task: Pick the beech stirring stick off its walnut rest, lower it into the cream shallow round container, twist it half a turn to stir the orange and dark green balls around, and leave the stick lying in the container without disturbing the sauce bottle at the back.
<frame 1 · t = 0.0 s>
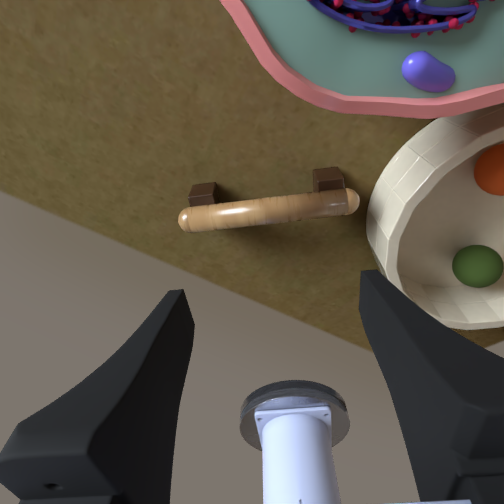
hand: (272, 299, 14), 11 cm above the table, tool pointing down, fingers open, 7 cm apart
green ball: (476, 266, 23), point 2 cm above the table, touching cream shallow round container
cream shallow round container: (471, 207, 23), on the table
stick rest: (265, 192, 23), on the table
stick: (266, 205, 21), point 2 cm above the table, touching stick rest
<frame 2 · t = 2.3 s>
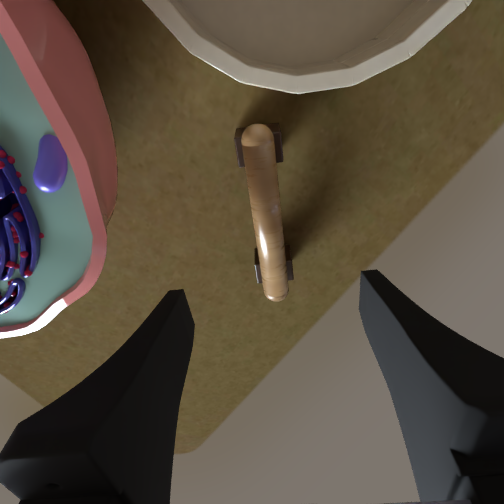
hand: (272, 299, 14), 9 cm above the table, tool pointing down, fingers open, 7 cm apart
stick rest: (266, 203, 21), on the table
stick: (267, 218, 20), point 2 cm above the table, touching stick rest
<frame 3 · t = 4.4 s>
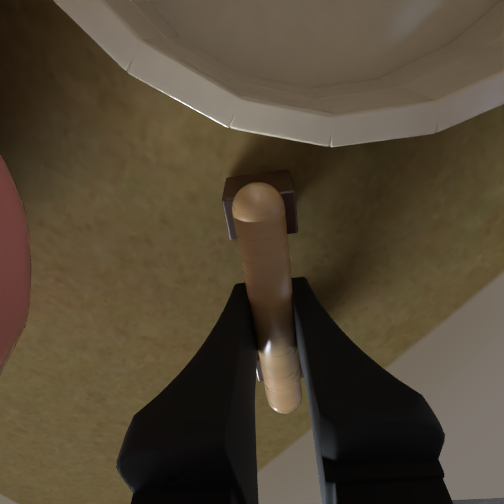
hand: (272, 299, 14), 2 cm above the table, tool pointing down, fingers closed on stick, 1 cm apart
stick rest: (271, 275, 15), on the table
stick: (272, 305, 13), point 2 cm above the table, touching gripper, stick rest
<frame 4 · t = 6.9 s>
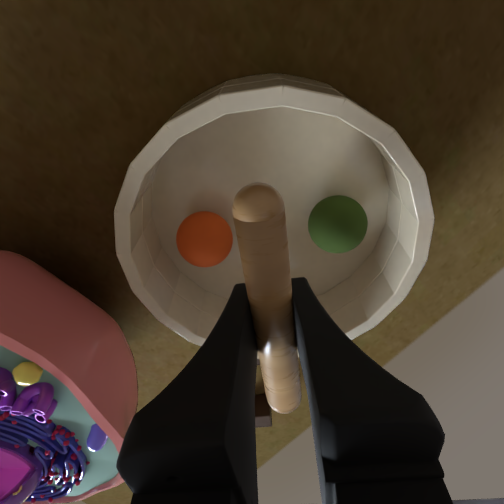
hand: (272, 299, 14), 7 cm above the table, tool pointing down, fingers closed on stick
green ball: (337, 224, 17), point 2 cm above the table, touching cream shallow round container
cream shallow round container: (268, 213, 19), on the table
cell model: (43, 313, 24), on the table
orange ball: (204, 239, 18), point 2 cm above the table, touching cream shallow round container
stick rest: (250, 371, 27), on the table
stick: (272, 305, 13), point 7 cm above the table, touching gripper
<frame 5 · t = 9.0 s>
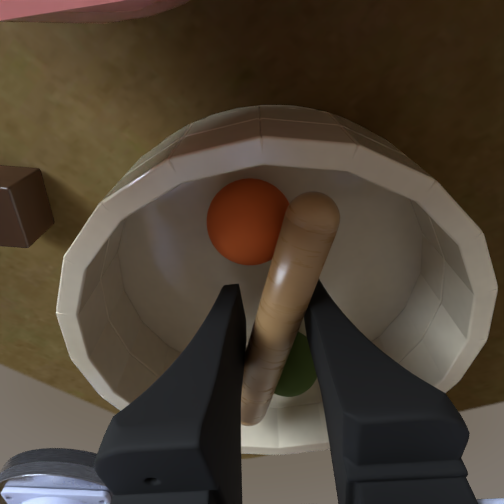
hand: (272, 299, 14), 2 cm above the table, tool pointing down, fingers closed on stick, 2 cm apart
green ball: (287, 362, 16), point 2 cm above the table, tilted 45°, touching cream shallow round container, stick
cream shallow round container: (268, 272, 15), on the table
orange ball: (249, 222, 12), point 2 cm above the table, tilted 44°, touching cream shallow round container, stick
stick: (273, 316, 13), point 3 cm above the table, touching green ball, gripper, orange ball
when the fingers open (2 cm above the table, at t = 9.8 s): stick drops 2 cm and tips over, resting on cream shallow round container.
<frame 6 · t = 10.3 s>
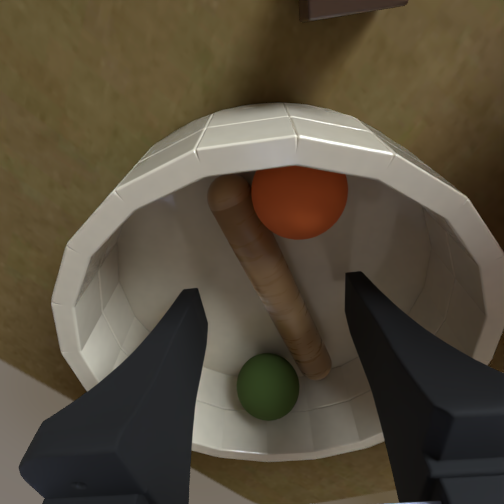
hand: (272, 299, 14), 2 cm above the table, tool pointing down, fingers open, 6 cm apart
green ball: (267, 385, 16), point 2 cm above the table, tilted 119°, touching cream shallow round container
cream shallow round container: (271, 275, 15), on the table
orange ball: (298, 192, 11), point 2 cm above the table, tilted 145°, touching cream shallow round container
stick: (262, 295, 14), point 1 cm above the table, tilted 70°, touching cream shallow round container
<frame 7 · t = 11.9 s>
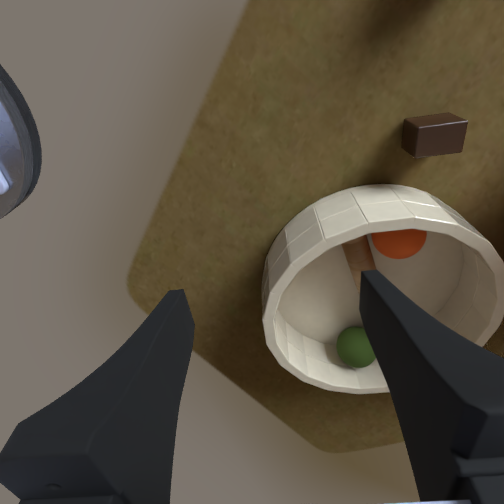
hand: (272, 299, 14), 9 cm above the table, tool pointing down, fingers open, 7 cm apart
green ball: (356, 346, 25), point 2 cm above the table, tilted 119°, touching cream shallow round container
cream shallow round container: (362, 277, 24), on the table
orange ball: (398, 233, 20), point 2 cm above the table, tilted 148°, touching cream shallow round container
stick rest: (435, 46, 16), on the table
stick: (358, 289, 24), point 1 cm above the table, tilted 59°, touching cream shallow round container
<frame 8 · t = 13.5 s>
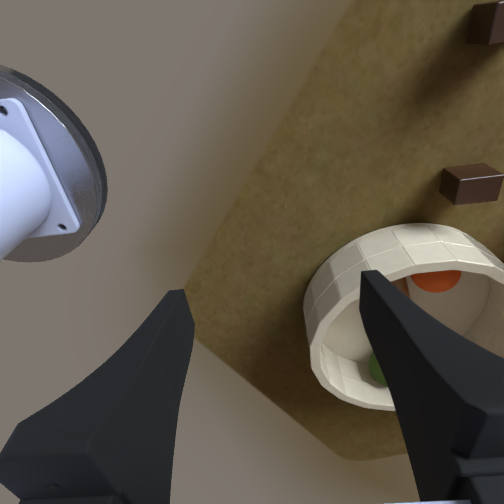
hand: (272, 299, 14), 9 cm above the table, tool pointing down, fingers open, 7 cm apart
green ball: (387, 366, 27), point 2 cm above the table, tilted 121°, touching cream shallow round container
cream shallow round container: (395, 303, 26), on the table
orange ball: (434, 269, 22), point 2 cm above the table, tilted 147°, touching cream shallow round container
stick rest: (475, 108, 18), on the table
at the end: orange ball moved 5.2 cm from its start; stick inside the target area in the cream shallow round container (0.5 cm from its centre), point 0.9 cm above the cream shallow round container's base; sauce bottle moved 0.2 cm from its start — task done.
